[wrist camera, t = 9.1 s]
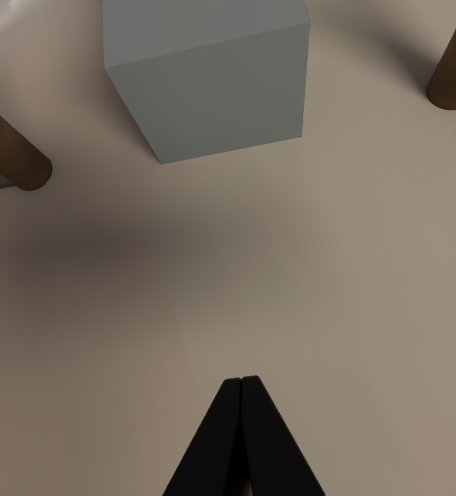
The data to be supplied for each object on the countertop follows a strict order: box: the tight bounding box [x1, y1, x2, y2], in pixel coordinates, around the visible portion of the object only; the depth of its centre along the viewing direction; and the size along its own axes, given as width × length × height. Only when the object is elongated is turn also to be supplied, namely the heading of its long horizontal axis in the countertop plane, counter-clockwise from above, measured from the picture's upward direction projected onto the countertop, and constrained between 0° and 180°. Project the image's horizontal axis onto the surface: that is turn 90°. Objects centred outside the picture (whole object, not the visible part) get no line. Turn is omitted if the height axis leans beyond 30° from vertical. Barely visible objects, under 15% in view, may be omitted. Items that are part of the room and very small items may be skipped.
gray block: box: [102, 0, 310, 164], centre depth 23 cm, size 14×10×11 cm
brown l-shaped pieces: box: [0, 30, 456, 191], centre depth 21 cm, size 3×52×11 cm, turn 97°
